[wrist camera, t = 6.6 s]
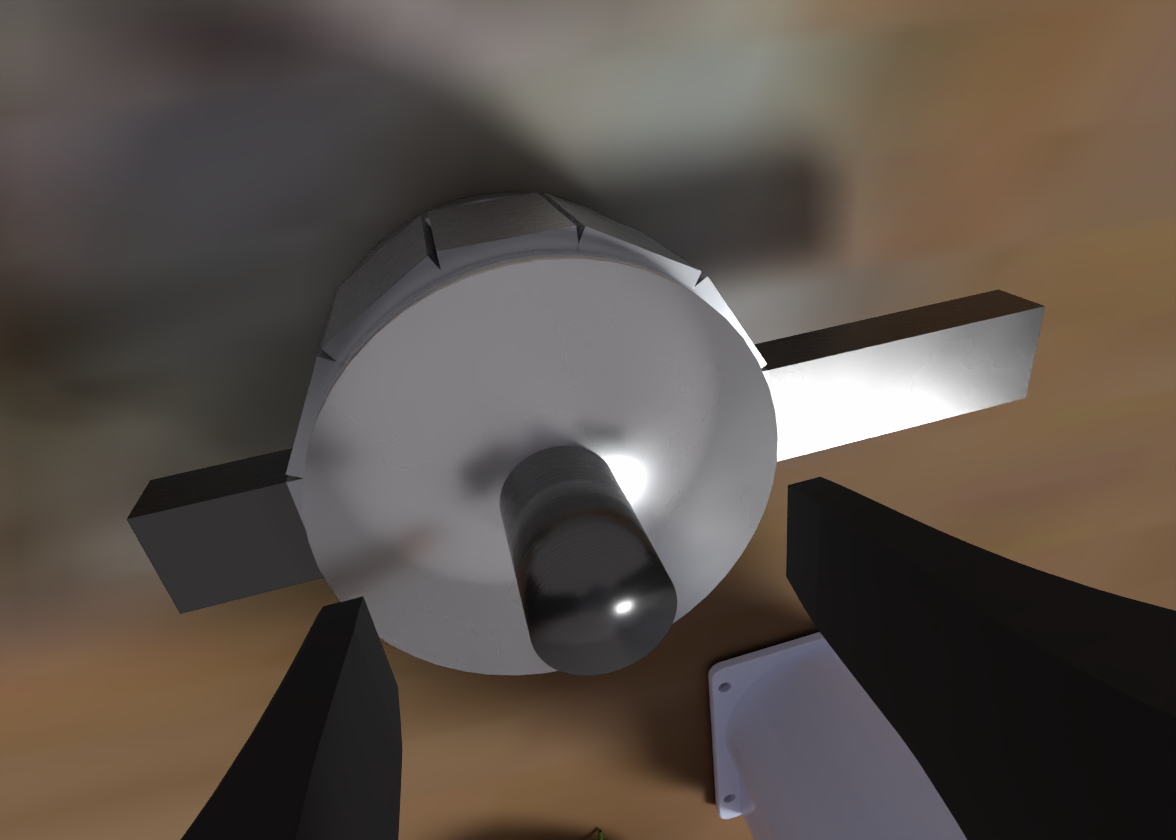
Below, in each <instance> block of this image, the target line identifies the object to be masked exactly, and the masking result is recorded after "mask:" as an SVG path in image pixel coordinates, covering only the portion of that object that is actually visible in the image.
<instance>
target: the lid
mask: <svg viewBox="0 0 1176 840" xmlns="http://www.w3.org/2000/svg"><path fill="white" fill-rule="evenodd" d="M777 443H778V433H777V423H776V414H775V408H774V404H773V400H772V396H771V392H770V389H769V385H768V383H767V381H766V378H765V376H764V374H763V371H762V369H761V367H760V364H759V362H758V360H757V359H756V357H755V356H754V354H753V352H752V351H751V349H750V348H749V346H748V344H747V343H746V341H745V340H744V338H743V337H742V336H741V335H740V334H739V333H738V332H737V330H736V329H735V328H734V327H733V326H732V325H731V324H730V323H729V321H728V320H727V319H726V318H725V317H724V316H722V315H721V314H720V313H719V312H718V311H716V310H715V309H714V308H713V307H712V306H710V305H709V304H708V303H707V302H706V301H704V300H703V299H702V298H700V297H699V296H698V295H696V294H695V293H694V292H692V291H691V290H690V289H688V288H687V287H685V286H684V285H682V284H680V283H678V282H677V281H675V280H673V279H672V278H670V277H668V276H667V275H665V274H663V273H662V272H659V271H657V270H655V269H652V268H650V267H647V266H645V265H642V264H640V263H638V262H635V261H632V260H628V259H624V258H620V257H616V256H612V255H608V254H605V253H598V252H589V251H580V250H571V249H564V250H534V251H528V252H521V253H515V254H509V255H503V256H498V257H495V258H492V259H488V260H485V261H482V262H478V263H475V264H472V265H468V266H465V267H463V268H461V269H459V270H457V271H454V272H452V273H450V274H448V275H445V276H443V277H441V278H439V279H437V280H434V281H432V282H431V283H429V284H428V285H426V286H424V287H423V288H421V289H420V290H418V291H416V292H415V293H413V294H411V295H410V296H408V297H407V298H405V299H403V300H402V301H401V302H400V303H399V304H397V305H396V306H395V307H394V308H392V309H391V310H390V311H389V312H388V313H386V314H385V315H384V316H383V317H382V318H380V319H379V320H378V321H377V322H376V323H375V324H374V325H373V326H372V327H371V328H370V329H369V330H368V331H367V332H366V334H365V335H364V336H363V337H362V338H361V339H360V340H359V341H358V342H357V343H356V344H355V346H354V347H353V348H352V349H351V351H350V352H349V354H348V355H347V357H346V358H345V360H344V361H343V363H342V364H341V365H340V367H339V368H338V370H337V371H336V373H335V374H334V376H333V378H332V380H331V382H330V384H329V386H328V389H327V391H326V393H325V395H324V397H323V399H322V401H321V403H320V406H319V409H318V413H317V416H316V419H315V422H314V425H313V429H312V432H311V436H310V440H309V444H308V449H307V453H306V460H305V467H304V474H303V481H302V498H303V516H304V521H305V526H306V532H307V537H308V541H309V544H310V547H311V549H312V552H313V555H314V557H315V560H316V563H317V566H318V568H319V569H320V571H321V573H322V575H323V576H324V578H325V580H326V582H327V583H328V585H329V587H330V589H331V590H332V591H333V593H334V594H335V595H336V596H337V598H338V599H339V600H340V601H341V602H343V601H347V600H350V599H354V598H358V597H362V596H363V597H364V599H365V602H366V604H367V607H368V610H369V612H370V615H371V618H372V620H373V623H374V625H375V628H376V631H377V633H378V636H379V637H380V638H381V639H383V640H384V641H386V642H387V643H389V644H390V645H392V646H394V647H396V648H398V649H400V650H402V651H404V652H406V653H408V654H410V655H412V656H414V657H417V658H420V659H422V660H425V661H428V662H431V663H433V664H436V665H439V666H443V667H448V668H452V669H456V670H460V671H465V672H473V673H480V674H488V675H529V674H542V673H549V672H554V671H561V672H563V673H567V674H571V675H579V676H593V675H601V674H607V673H610V672H614V671H617V670H620V669H623V668H625V667H627V666H629V665H631V664H633V663H635V662H637V661H638V660H640V659H642V658H643V657H645V656H646V655H647V654H649V653H650V652H651V651H652V650H653V649H654V648H655V647H656V646H657V645H658V644H659V643H660V642H661V641H662V640H663V638H664V637H665V636H666V634H667V633H668V631H669V629H670V628H671V626H672V624H673V623H674V622H676V621H677V620H679V619H680V618H681V617H683V616H684V615H685V614H687V613H688V612H689V611H690V610H692V609H693V608H694V607H695V606H696V605H697V604H698V603H699V602H701V601H702V600H703V599H704V598H705V597H706V596H707V595H708V594H709V593H710V592H711V591H712V590H713V589H714V588H715V587H716V586H717V585H718V584H719V583H720V581H721V580H722V579H723V578H724V577H725V576H726V575H727V574H728V572H729V571H730V570H731V568H732V567H733V566H734V564H735V563H736V562H737V560H738V559H739V558H740V556H741V555H742V553H743V552H744V550H745V548H746V546H747V545H748V543H749V541H750V540H751V538H752V536H753V535H754V533H755V531H756V529H757V526H758V524H759V522H760V520H761V517H762V515H763V513H764V511H765V508H766V505H767V502H768V498H769V495H770V492H771V489H772V485H773V480H774V474H775V468H776V463H777Z"/></svg>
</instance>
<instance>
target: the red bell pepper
mask: <svg viewBox="0 0 1176 840" xmlns="http://www.w3.org/2000/svg"><path fill="white" fill-rule="evenodd" d="M598 840H604V839H603V833H602V831H601V830H598Z"/></svg>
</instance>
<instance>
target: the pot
mask: <svg viewBox="0 0 1176 840" xmlns="http://www.w3.org/2000/svg"><path fill="white" fill-rule="evenodd" d="M564 249H571V250H580V251H589V252H598V253H605V254H608V255H612V256H616V257H620V258H624V259H628V260H632V261H635V262H638V263H640V264H642V265H645V266H647V267H650V268H652V269H655V270H657V271H659V272H662V273H663V274H665V275H667V276H668V277H670V278H672V279H673V280H675V281H677V282H678V283H680V284H682V285H684V286H685V287H687V288H688V289H690V290H691V291H692V292H694V293H695V294H696V295H698V296H699V297H700V298H702V299H703V300H704V301H706V302H707V303H708V304H709V305H710V306H712V307H713V308H714V309H715V310H716V311H718V312H719V313H720V314H721V315H722V316H724V317H725V318H726V319H727V320H728V321H729V323H730V324H731V325H732V326H733V327H734V328H735V329H736V330H737V332H738V333H739V334H740V335H741V336H742V337H743V338H744V340H745V341H746V343H747V344H748V346H749V348H750V349H751V351H752V352H753V354H754V356H755V357H756V359H757V360H758V362H759V364H760V367H761V369H762V371H763V374H764V376H765V378H766V381H767V383H768V385H769V389H770V392H771V396H772V400H773V404H774V408H775V414H776V423H777V433H778V443H777V461H781V460H785V459H789V458H793V457H797V456H800V455H804V454H808V453H812V452H816V451H820V450H824V449H828V448H832V447H836V446H840V445H844V444H847V443H851V442H855V441H859V440H863V439H867V438H871V437H875V436H879V435H883V434H887V433H891V432H894V431H898V430H902V429H906V428H910V427H914V426H918V425H922V424H926V423H930V422H934V421H938V420H941V419H945V418H949V417H953V416H957V415H961V414H965V413H969V412H973V411H977V410H981V409H984V408H988V407H992V406H996V405H1000V404H1004V403H1008V402H1012V401H1016V400H1020V399H1024V398H1026V395H1027V390H1028V385H1029V381H1030V376H1031V371H1032V366H1033V361H1034V357H1035V352H1036V347H1037V342H1038V337H1039V333H1040V328H1041V323H1042V318H1043V313H1044V309H1045V306H1043V305H1040V304H1037V303H1035V302H1032V301H1029V300H1026V299H1023V298H1021V297H1018V296H1015V295H1012V294H1009V293H1007V292H1004V291H1001V290H995V291H990V292H986V293H981V294H977V295H972V296H968V297H964V298H959V299H955V300H950V301H946V302H941V303H937V304H932V305H928V306H923V307H919V308H915V309H910V310H906V311H901V312H897V313H892V314H888V315H883V316H879V317H875V318H870V319H866V320H861V321H857V322H852V323H848V324H843V325H839V326H834V327H830V328H826V329H821V330H817V331H812V332H808V333H803V334H799V335H794V336H790V337H786V338H781V339H777V340H772V341H768V342H763V343H759V344H753V342H752V341H751V340H750V338H749V337H748V335H747V334H746V332H745V331H744V329H743V328H742V326H741V325H740V323H739V322H738V320H737V319H736V317H735V316H734V314H733V313H732V311H731V310H730V308H729V307H728V305H727V304H726V302H725V301H724V300H723V298H722V297H721V295H720V294H719V292H718V291H717V289H716V288H715V286H714V285H713V283H712V282H711V280H710V279H709V277H708V276H707V275H705V274H704V273H702V272H701V271H700V270H699V269H697V268H696V267H694V266H693V265H691V264H690V263H688V262H687V261H685V260H683V259H682V258H680V257H679V256H677V255H676V254H674V253H673V252H671V251H670V250H668V249H666V248H665V247H663V246H662V245H660V244H659V243H657V242H656V241H654V240H653V239H651V238H649V237H648V236H646V235H645V234H643V233H642V232H640V231H639V230H637V229H634V228H632V227H629V226H626V225H624V224H621V223H619V222H616V221H614V220H611V219H609V218H607V217H606V216H604V215H602V214H600V213H598V212H596V211H594V210H592V209H590V208H588V207H586V206H584V205H581V204H578V203H575V202H572V201H569V200H565V199H562V198H559V197H555V196H551V195H548V194H546V193H543V194H538V193H537V192H533V193H529V192H498V193H488V194H479V195H474V196H470V197H466V198H462V199H458V200H454V201H451V202H448V203H446V204H443V205H441V206H438V207H436V208H433V209H431V210H428V211H426V212H424V213H422V214H420V215H419V216H417V217H415V218H413V219H412V220H410V221H408V222H406V223H404V224H403V225H401V226H400V227H399V228H397V229H396V230H395V231H393V232H392V233H391V234H390V235H388V236H387V237H386V238H384V239H383V240H382V241H380V242H379V243H378V244H377V245H376V247H375V248H374V249H373V250H372V251H371V252H370V253H369V254H368V255H367V256H366V257H365V258H364V259H363V260H362V261H361V262H360V264H359V265H358V266H357V268H356V269H355V270H354V272H353V273H352V275H351V276H350V277H349V278H348V279H347V280H346V281H345V282H344V283H343V284H342V285H341V286H339V288H338V292H337V294H336V293H335V295H334V298H333V302H332V305H331V309H330V312H329V316H328V319H327V323H326V326H325V330H324V333H323V337H322V340H321V344H320V347H319V351H318V354H317V358H316V362H315V366H314V369H313V373H312V377H311V381H310V384H309V388H308V392H307V396H306V400H305V403H304V407H303V411H302V415H301V418H300V422H299V426H298V430H297V434H296V437H295V441H294V445H293V448H292V449H287V450H283V451H278V452H274V453H269V454H265V455H261V456H256V457H252V458H247V459H243V460H238V461H234V462H229V463H225V464H221V465H216V466H212V467H207V468H203V469H198V470H194V471H189V472H185V473H180V474H176V475H172V476H167V477H163V478H158V479H154V480H150V482H149V483H148V485H147V487H146V488H145V490H144V492H143V493H142V495H141V497H140V498H139V500H138V502H137V503H136V505H135V506H134V508H133V510H132V511H131V513H130V515H129V516H128V518H127V521H128V523H129V524H130V526H131V528H132V530H133V531H134V533H135V535H136V537H137V538H138V540H139V542H140V544H141V546H142V547H143V549H144V551H145V553H146V554H147V556H148V558H149V560H150V561H151V563H152V565H153V567H154V568H155V570H156V572H157V574H158V576H159V577H160V579H161V581H162V583H163V584H164V586H165V588H166V590H167V591H168V593H169V595H170V597H171V599H172V600H173V602H174V604H175V606H176V607H177V609H178V611H179V613H180V614H182V613H186V612H190V611H194V610H198V609H201V608H205V607H209V606H213V605H217V604H221V603H225V602H229V601H233V600H237V599H241V598H245V597H248V596H252V595H256V594H260V593H264V592H268V591H272V590H276V589H280V588H284V587H288V586H292V585H295V584H299V583H303V582H307V581H311V580H315V579H319V578H323V577H324V576H323V575H322V573H321V571H320V569H319V568H318V566H317V563H316V560H315V557H314V555H313V552H312V549H311V547H310V544H309V541H308V537H307V532H306V526H305V521H304V516H303V498H302V481H303V474H304V467H305V460H306V453H307V449H308V444H309V440H310V436H311V432H312V429H313V425H314V422H315V419H316V416H317V413H318V409H319V406H320V403H321V401H322V399H323V397H324V395H325V393H326V391H327V389H328V386H329V384H330V382H331V380H332V378H333V376H334V374H335V373H336V371H337V370H338V368H339V367H340V365H341V364H342V363H343V361H344V360H345V358H346V357H347V355H348V354H349V352H350V351H351V349H352V348H353V347H354V346H355V344H356V343H357V342H358V341H359V340H360V339H361V338H362V337H363V336H364V335H365V334H366V332H367V331H368V330H369V329H370V328H371V327H372V326H373V325H374V324H375V323H376V322H377V321H378V320H379V319H380V318H382V317H383V316H384V315H385V314H386V313H388V312H389V311H390V310H391V309H392V308H394V307H395V306H396V305H397V304H399V303H400V302H401V301H402V300H403V299H405V298H407V297H408V296H410V295H411V294H413V293H415V292H416V291H418V290H420V289H421V288H423V287H424V286H426V285H428V284H429V283H431V282H432V281H434V280H437V279H439V278H441V277H443V276H445V275H448V274H450V273H452V272H454V271H457V270H459V269H461V268H463V267H465V266H468V265H472V264H475V263H478V262H482V261H485V260H488V259H492V258H495V257H498V256H503V255H509V254H515V253H521V252H528V251H534V250H564Z"/></svg>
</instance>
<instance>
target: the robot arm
mask: <svg viewBox="0 0 1176 840" xmlns="http://www.w3.org/2000/svg"><path fill="white" fill-rule="evenodd" d="M786 577H787V578H788V580H789V582H790V584H791V585H792V587H793V589H794V591H795V593H796V594H797V596H798V598H799V600H800V601H801V603H802V605H803V607H804V608H805V610H806V611H807V613H808V615H809V616H810V618H811V620H812V621H813V623H814V625H815V626H816V628H817V629H818V630H819V632H818V633H815V634H811V635H808V636H805V637H801V638H798V639H795V640H791V641H788V642H785V643H781V644H778V645H775V646H771V647H768V648H765V649H761V650H758V651H755V652H752V653H748V654H745V655H742V656H738V657H735V658H732V659H728V660H725V661H722V662H719V663H717V664H715V665H714V666H712V668H711V669H710V671H709V674H708V678H709V695H710V712H711V729H712V746H713V763H714V780H715V797H716V809H717V812H718V814H719V816H720V817H721V818H722V819H730V818H733V817H736V816H739V815H742V814H743V816H744V819H745V821H746V823H747V825H748V827H749V829H750V831H751V834H752V836H753V838H754V840H1176V611H1174V610H1171V609H1167V608H1163V607H1159V606H1156V605H1152V604H1148V603H1144V602H1140V601H1137V600H1133V599H1129V598H1125V597H1122V596H1118V595H1115V594H1112V593H1108V592H1105V591H1101V590H1098V589H1095V588H1091V587H1088V586H1085V585H1082V584H1079V583H1076V582H1073V581H1070V580H1067V579H1064V578H1061V577H1058V576H1055V575H1052V574H1049V573H1046V572H1043V571H1040V570H1037V569H1034V568H1031V567H1029V566H1026V565H1023V564H1020V563H1018V562H1015V561H1012V560H1010V559H1007V558H1005V557H1002V556H1000V555H997V554H995V553H992V552H990V551H987V550H984V549H982V548H979V547H977V546H974V545H972V544H969V543H967V542H965V541H962V540H960V539H958V538H955V537H953V536H951V535H948V534H946V533H944V532H941V531H939V530H937V529H935V528H932V527H930V526H928V525H926V524H923V523H921V522H919V521H917V520H915V519H912V518H910V517H908V516H906V515H904V514H901V513H899V512H897V511H895V510H893V509H891V508H889V507H886V506H884V505H882V504H880V503H878V502H876V501H874V500H871V499H869V498H867V497H865V496H863V495H861V494H859V493H856V492H854V491H852V490H850V489H848V488H846V487H843V486H841V485H839V484H836V483H834V482H832V481H829V480H827V479H824V478H822V477H818V478H814V479H810V480H806V481H802V482H799V483H795V484H791V485H788V510H787V567H786ZM401 769H402V737H401V721H400V708H399V696H398V686H397V683H396V680H395V678H394V675H393V673H392V670H391V667H390V665H389V662H388V659H387V657H386V654H385V652H384V649H383V646H382V644H381V641H380V639H379V636H378V633H377V631H376V628H375V625H374V623H373V620H372V618H371V615H370V612H369V610H368V607H367V604H366V602H365V599H364V597H363V596H362V597H358V598H354V599H350V600H347V601H343V602H339V603H335V604H331V605H327V606H324V607H323V608H322V609H321V611H320V612H319V614H318V615H317V617H316V619H315V621H314V623H313V625H312V627H311V629H310V631H309V632H308V634H307V636H306V638H305V640H304V642H303V644H302V646H301V648H300V649H299V651H298V653H297V655H296V657H295V659H294V661H293V662H292V664H291V666H290V668H289V670H288V672H287V673H286V675H285V677H284V679H283V681H282V682H281V684H280V686H279V688H278V689H277V691H276V693H275V695H274V696H273V698H272V700H271V701H270V703H269V705H268V707H267V708H266V710H265V712H264V713H263V715H262V717H261V719H260V720H259V722H258V724H257V726H256V727H255V729H254V731H253V732H252V734H251V735H250V737H249V739H248V740H247V742H246V743H245V745H244V747H243V748H242V750H241V751H240V753H239V754H238V756H237V757H236V759H235V761H234V762H233V764H232V765H231V767H230V768H229V770H228V771H227V773H226V775H225V776H224V778H223V779H222V781H221V782H220V784H219V785H218V787H217V789H216V790H215V792H214V793H213V795H212V796H211V797H210V799H209V800H208V802H207V803H206V805H205V806H204V808H203V809H202V810H201V812H200V813H199V815H198V816H197V818H196V819H195V821H194V822H193V823H192V825H191V826H190V827H189V829H188V830H187V832H186V833H185V834H184V836H183V837H182V839H181V840H398V833H399V813H400V792H401Z"/></svg>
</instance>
